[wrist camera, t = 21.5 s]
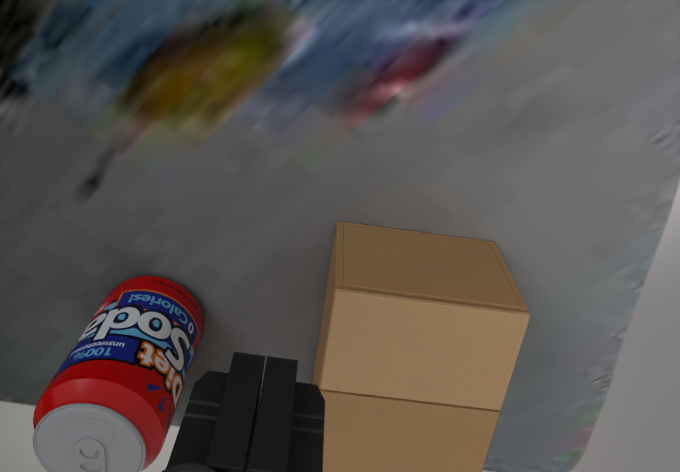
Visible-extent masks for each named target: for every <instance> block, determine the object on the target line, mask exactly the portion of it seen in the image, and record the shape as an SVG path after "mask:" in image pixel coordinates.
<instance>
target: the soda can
mask: <svg viewBox="0 0 680 472" xmlns="http://www.w3.org/2000/svg"><path fill="white" fill-rule="evenodd" d="M203 325H204V322H203V315H202V311H201V309H200V307H199V305H198V303H197V301H196V300H195V299H194V297H193V296H192V295H191V294H190V293H189V292H188V291H187V290H186V289H184V288H183V287H182V286H180V285H179V284H177V283H175V282H173V281H170V280H168V279H165V278H161V277H155V276H140V277H134V278H131V279H128V280H126V281H124V282H122V283H120V284H119V285H117V286H116V287H115V288H114V289H113V290H112V291H111V292H110V293H109V294H108V296H107V297H106V299H105V300H104V302H103V303H102V305H101V306H100V308H99V309H98V311H97V312H96V314H95V315H94V317H93V318H92V320H91V321H90V323H89V324H88V326H87V327H86V329H85V330H84V332H83V333H82V335H81V336H80V338H79V340H78V341H77V343H76V344H75V346H74V347H73V349H72V350H71V352H70V353H69V355H68V356H67V358H66V359H65V361H64V362H63V364H62V365H61V367H60V368H59V370H58V371H57V373H56V374H55V376H54V377H53V379H52V380H51V382H50V383H49V385H48V386H47V388H46V390H45V391H44V393H43V394H42V396H41V397H40V399H39V401H38V403H37V405H36V408H35V411H34V417H33V424H34V430H35V431H34V435H33V447H34V451H35V454H36V456H37V458H38V460H39V462H40V463H41V464H42V466H43V467H44V468H45V469H46V470H47V471H48V472H140V471H142V470H143V469H145V468H147V466H149V465H150V464H151V463H152V462H153V461H154V460H155V459H156V457H157V456H158V454H159V453H160V451H161V449H162V447H163V444H164V441H165V439H166V436H167V433H168V429H169V427H170V425H171V422H172V419H173V416H174V413H175V410H176V408H177V405H178V402H179V399H180V396H181V394H182V391H183V388H184V385H185V382H186V379H187V377H188V374H189V371H190V368H191V365H192V363H193V360H194V357H195V354H196V351H197V348H198V346H199V343H200V340H201V337H202V333H203Z"/></svg>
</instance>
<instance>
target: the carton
mask: <svg viewBox="0 0 680 472" xmlns="http://www.w3.org/2000/svg"><path fill="white" fill-rule="evenodd" d="M336 288H338V289H346V290H354V291H362V292H370V293H377V294H385V295H393V296H401V297H409V298H417V299H425V300H432V301H440V302H448V303H456V304H464V305H472V306H480V307H487V308H495V309H503V310H511V311H519V312H527V310H528V307H527V305H526V303H525V301H524V299H523V297H522V295H521V293H520V291H519V289H518V287H517V285H516V283H515V281H514V279H513V277H512V275H511V273H510V271H509V269H508V267H507V265H506V263H505V261H504V259H503V257H502V255H501V253H500V251H499V249H498V247H497V245H496V243H495V242H491V241H484V240H476V239H469V238H461V237H454V236H446V235H439V234H431V233H424V232H416V231H409V230H401V229H394V228H386V227H379V226H371V225H364V224H356V223H349V222H341V221H337V222H336V229H335V235H334V242H333V248H332V255H331V261H330V268H329V274H328V281H327V287H326V294H325V300H324V307H323V313H322V320H321V326H320V333H319V339H318V346H317V352H316V359H315V365H314V372H313V378H312V384H314V385H317V386H318V388H319V390H320V392H321V394H322V396H323V397H324V399H325V418H324V421H325V422H324V450H323V472H482V469H483V465H484V462H485V459H486V456H487V453H488V450H489V446H490V443H491V440H492V437H493V434H494V431H495V427H496V424H497V421H498V418H499V415H500V412H499V410H492V409H484V408H475V407H467V406H458V405H450V404H441V403H433V402H424V401H416V400H408V399H399V398H391V397H382V396H374V395H365V394H357V393H348V392H340V391H331V390H323V389H320V383H321V377H322V371H323V364H324V358H325V352H326V346H327V340H328V333H329V327H330V321H331V315H332V309H333V302H334V296H335V290H336Z"/></svg>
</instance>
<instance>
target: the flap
mask: <svg viewBox="0 0 680 472" xmlns="http://www.w3.org/2000/svg"><path fill="white" fill-rule="evenodd" d="M529 320H530V314H529V313H527V312H519V311H511V310H503V309H495V308H487V307H480V306H472V305H464V304H456V303H448V302H440V301H432V300H425V299H417V298H409V297H401V296H393V295H385V294H377V293H370V292H362V291H354V290H346V289H338V288H336V290H335V296H334V302H333V309H332V315H331V321H330V327H329V333H328V340H327V346H326V352H325V358H324V364H323V371H322V377H321V383H320V389H323V390H331V391H340V392H348V393H357V394H365V395H374V396H382V397H391V398H399V399H408V400H416V401H424V402H433V403H441V404H450V405H458V406H467V407H475V408H484V409H492V410H501V407H502V404H503V401H504V398H505V395H506V392H507V389H508V385H509V382H510V379H511V376H512V373H513V370H514V367H515V363H516V360H517V357H518V354H519V351H520V348H521V345H522V341H523V338H524V335H525V332H526V329H527V326H528V323H529Z"/></svg>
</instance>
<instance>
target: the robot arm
mask: <svg viewBox="0 0 680 472" xmlns="http://www.w3.org/2000/svg"><path fill="white" fill-rule="evenodd" d="M264 361H265V356H261V355H253V354H246V353H238V352H234V355H233V359H232V363H231V367H230V371H229V373H222V372H214V371H207V372H206V373H205V374H204V375H203V376H202V377H201V378H200V379H199V380H198V381H197V382H196V383H195V384H194V387H193V390H192V393H191V396H190V399H189V403H188V405H187V408H186V411H185V415H184V417H183V420H182V423H181V426H180V429H179V432H178V435H177V438H176V441H175V444H174V447H173V450H172V453H171V456H170V459H169V462H168V465H167V467H166V470H164V471H162V472H323V450H324V422H325V421H324V418H325V399H324V397H323V396H322V394H321V392H320V390H319V388H318V386H317V385H314V384H306V383H299V382H296V373H297V364H298V360H291V359H284V358H276V357H269V356H268V357H267V363H266V368H265V374H264V380H263V385H262V391H261V384H262V376H263V369H264ZM260 391H261V396H260ZM259 398H260V402H259ZM258 406H259V408H258Z"/></svg>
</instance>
